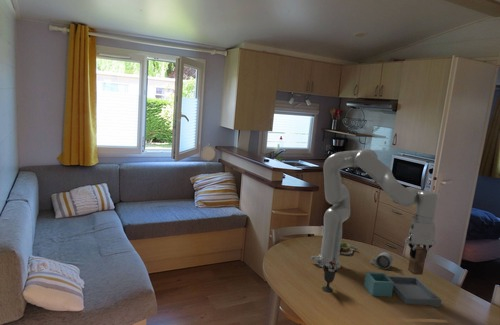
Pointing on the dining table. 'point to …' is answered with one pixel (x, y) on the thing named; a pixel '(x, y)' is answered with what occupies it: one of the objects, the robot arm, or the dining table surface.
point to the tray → (414, 291)
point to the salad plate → (346, 248)
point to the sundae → (329, 275)
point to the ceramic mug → (383, 260)
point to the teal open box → (378, 284)
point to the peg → (417, 261)
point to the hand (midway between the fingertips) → (417, 257)
